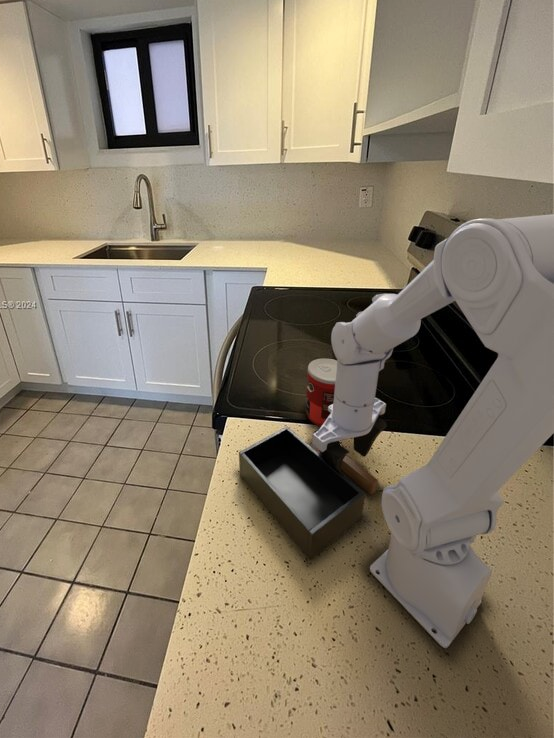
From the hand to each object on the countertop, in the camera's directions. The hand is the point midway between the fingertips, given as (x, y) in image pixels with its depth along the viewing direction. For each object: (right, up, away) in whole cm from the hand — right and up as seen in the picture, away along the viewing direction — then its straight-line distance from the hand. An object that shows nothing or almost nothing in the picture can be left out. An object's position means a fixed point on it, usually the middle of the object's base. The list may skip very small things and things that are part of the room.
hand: (346, 462), depth 58 cm
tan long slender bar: (0, -1, +1) cm, 2 cm away
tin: (-9, -3, -4) cm, 10 cm away
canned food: (0, +4, +13) cm, 13 cm away
